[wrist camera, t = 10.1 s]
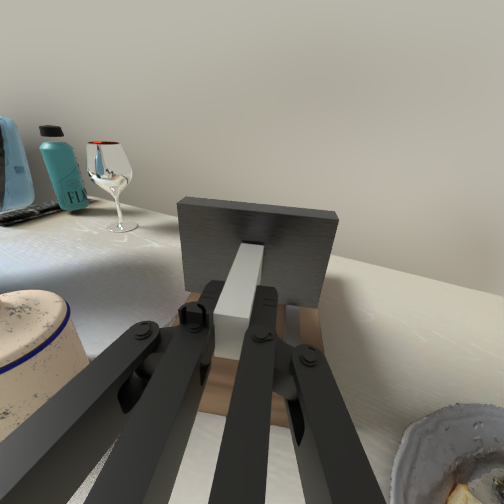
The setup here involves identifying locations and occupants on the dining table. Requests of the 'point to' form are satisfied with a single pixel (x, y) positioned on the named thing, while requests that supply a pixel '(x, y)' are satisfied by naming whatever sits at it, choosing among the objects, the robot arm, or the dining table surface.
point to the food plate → (449, 455)
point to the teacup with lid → (34, 353)
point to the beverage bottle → (63, 170)
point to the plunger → (258, 233)
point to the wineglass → (110, 175)
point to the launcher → (224, 370)
